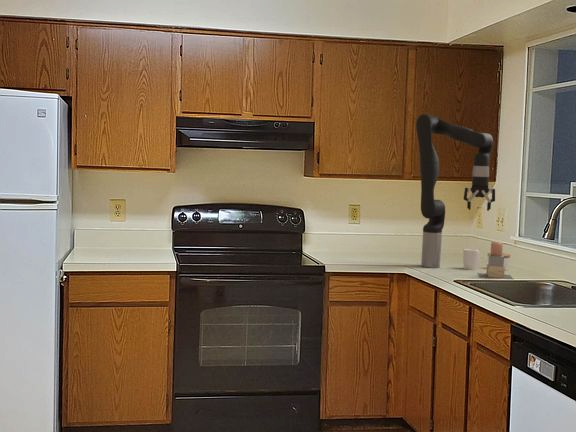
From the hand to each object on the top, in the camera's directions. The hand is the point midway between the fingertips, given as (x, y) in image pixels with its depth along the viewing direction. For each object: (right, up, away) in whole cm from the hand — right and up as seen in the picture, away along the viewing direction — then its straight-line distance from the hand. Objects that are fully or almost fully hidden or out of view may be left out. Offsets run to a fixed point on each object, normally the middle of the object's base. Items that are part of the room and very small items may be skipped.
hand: (478, 210), depth 352 cm
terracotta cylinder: (+6, -21, -9) cm, 24 cm away
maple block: (+5, -30, -8) cm, 32 cm away
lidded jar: (+14, -30, +18) cm, 37 cm away
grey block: (+6, -25, -9) cm, 27 cm away
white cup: (-1, -29, +13) cm, 32 cm away
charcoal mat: (+5, -31, -8) cm, 33 cm away
